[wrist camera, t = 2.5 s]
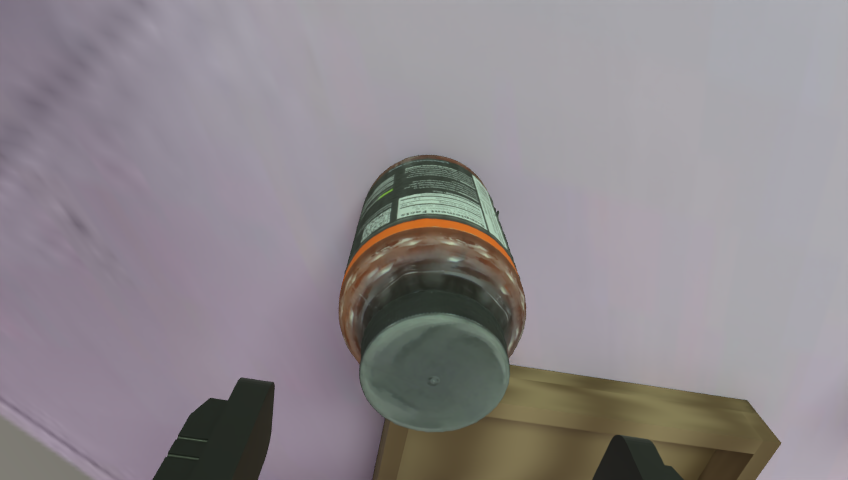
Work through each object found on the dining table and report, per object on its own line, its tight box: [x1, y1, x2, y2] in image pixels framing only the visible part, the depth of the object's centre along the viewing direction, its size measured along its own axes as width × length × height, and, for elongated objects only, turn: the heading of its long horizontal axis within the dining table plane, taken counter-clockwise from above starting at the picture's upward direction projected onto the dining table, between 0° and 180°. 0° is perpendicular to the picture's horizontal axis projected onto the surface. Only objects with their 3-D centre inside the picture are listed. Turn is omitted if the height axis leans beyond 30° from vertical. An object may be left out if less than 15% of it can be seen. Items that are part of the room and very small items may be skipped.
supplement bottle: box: [339, 155, 526, 432], centre depth 18 cm, size 6×6×11 cm
